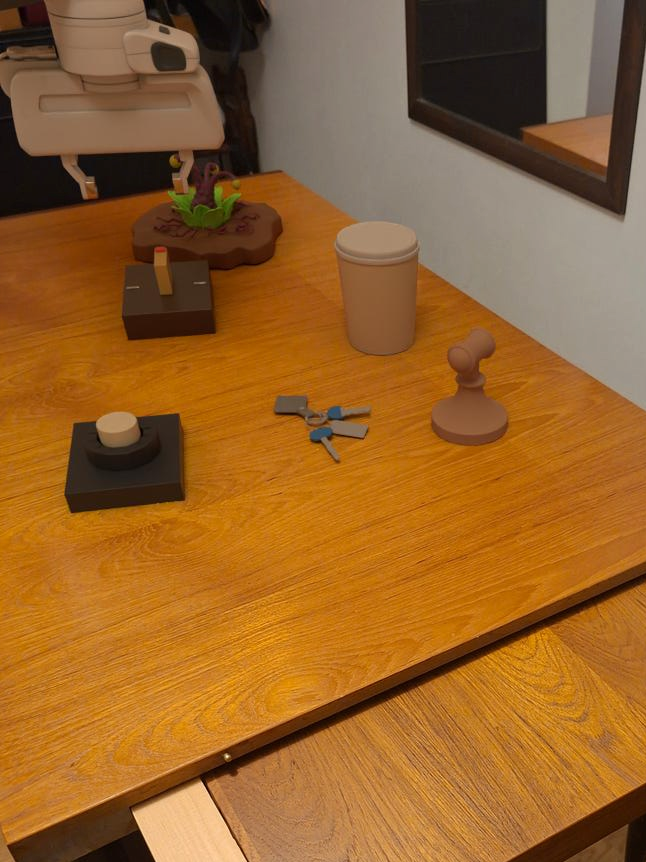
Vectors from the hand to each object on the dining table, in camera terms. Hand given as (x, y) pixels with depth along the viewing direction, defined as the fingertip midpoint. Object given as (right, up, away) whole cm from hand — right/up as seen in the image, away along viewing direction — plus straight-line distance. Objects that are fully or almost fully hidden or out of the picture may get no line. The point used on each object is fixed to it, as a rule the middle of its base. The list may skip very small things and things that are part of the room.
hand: (137, 195), depth 97 cm
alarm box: (+3, -32, -11) cm, 34 cm away
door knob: (+36, -26, -3) cm, 44 cm away
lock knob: (-1, -6, +11) cm, 12 cm away
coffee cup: (+25, -13, +10) cm, 30 cm away
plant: (-1, +8, +28) cm, 29 cm away
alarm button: (+4, -29, -13) cm, 32 cm away
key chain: (+22, -25, -4) cm, 34 cm away
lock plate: (-1, -8, +13) cm, 15 cm away
